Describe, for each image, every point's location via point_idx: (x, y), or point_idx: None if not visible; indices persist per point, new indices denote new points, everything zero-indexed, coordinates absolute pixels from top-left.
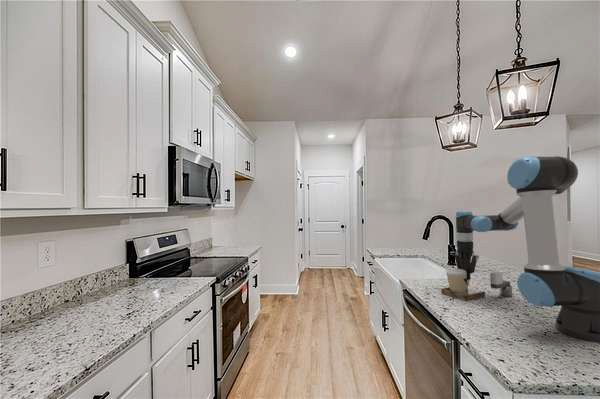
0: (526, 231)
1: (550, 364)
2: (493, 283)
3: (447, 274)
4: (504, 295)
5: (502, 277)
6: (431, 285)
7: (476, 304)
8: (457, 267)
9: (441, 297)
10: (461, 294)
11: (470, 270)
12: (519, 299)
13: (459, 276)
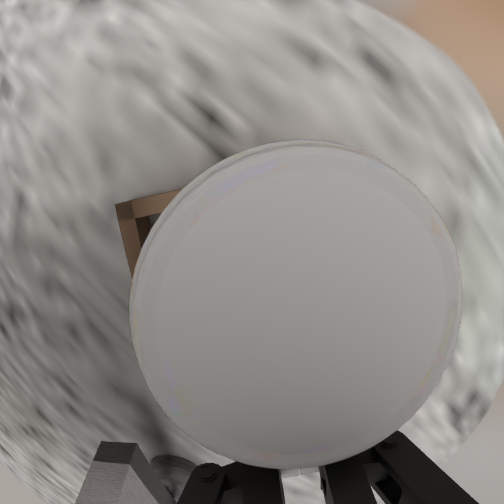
0: None
1: None
2: (108, 466)
3: (355, 149)
4: (159, 460)
5: None
6: (494, 244)
7: (69, 218)
8: (418, 453)
9: (271, 86)
10: (164, 198)
11: (198, 495)
12: None
13: (149, 241)
